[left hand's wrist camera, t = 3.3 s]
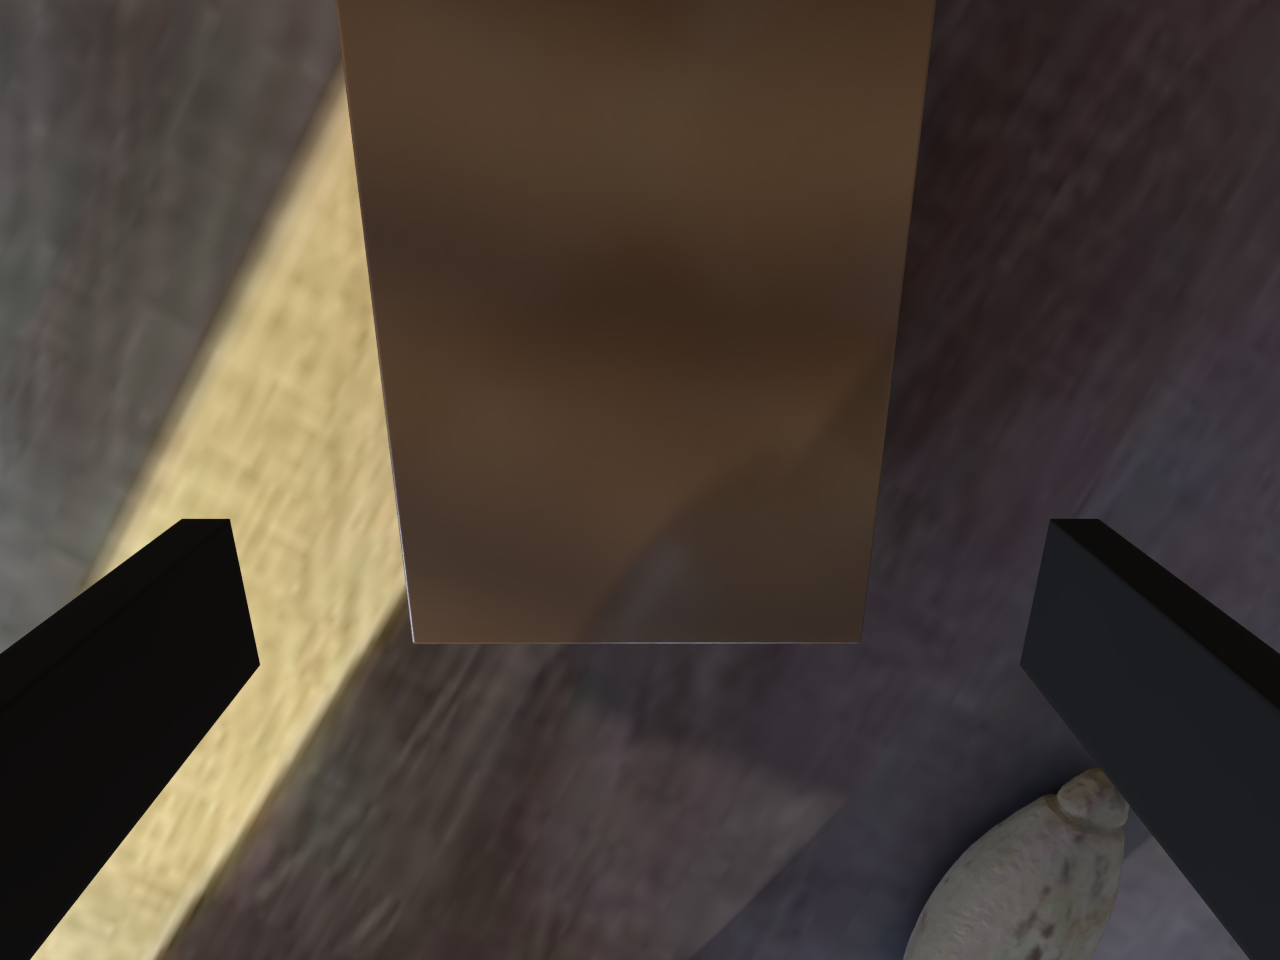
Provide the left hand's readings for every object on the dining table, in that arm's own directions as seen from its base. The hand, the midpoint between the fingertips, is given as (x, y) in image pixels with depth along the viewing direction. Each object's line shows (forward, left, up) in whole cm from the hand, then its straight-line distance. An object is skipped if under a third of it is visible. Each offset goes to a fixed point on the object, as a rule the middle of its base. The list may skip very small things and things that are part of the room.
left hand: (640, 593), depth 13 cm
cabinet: (+4, 0, -13) cm, 14 cm away
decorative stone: (-23, -12, -13) cm, 29 cm away
